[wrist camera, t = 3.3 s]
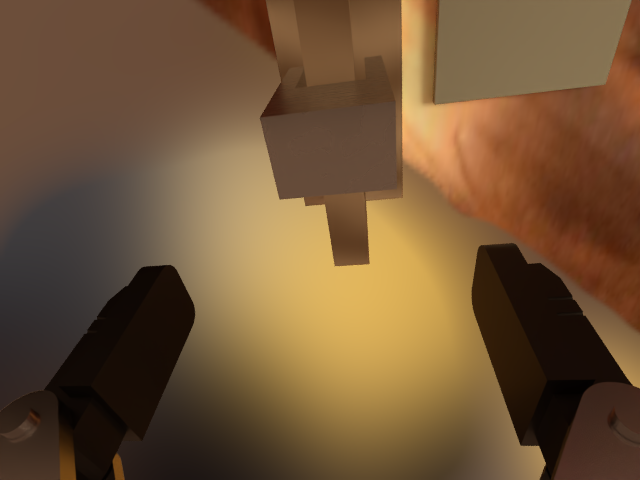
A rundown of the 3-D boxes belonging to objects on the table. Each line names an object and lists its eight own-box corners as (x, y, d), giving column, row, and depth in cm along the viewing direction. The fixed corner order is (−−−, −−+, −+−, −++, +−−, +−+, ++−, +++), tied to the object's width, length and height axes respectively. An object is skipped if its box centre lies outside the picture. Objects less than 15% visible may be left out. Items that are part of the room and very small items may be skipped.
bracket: (289, 68, 22) (259, 117, 15) (381, 55, 22) (395, 101, 14) (300, 130, 25) (279, 199, 18) (383, 121, 24) (397, 189, 17)
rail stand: (247, -111, 22) (178, -158, 13) (398, -143, 21) (432, -220, 12) (306, 200, 35) (291, 279, 26) (401, 192, 34) (418, 272, 25)
